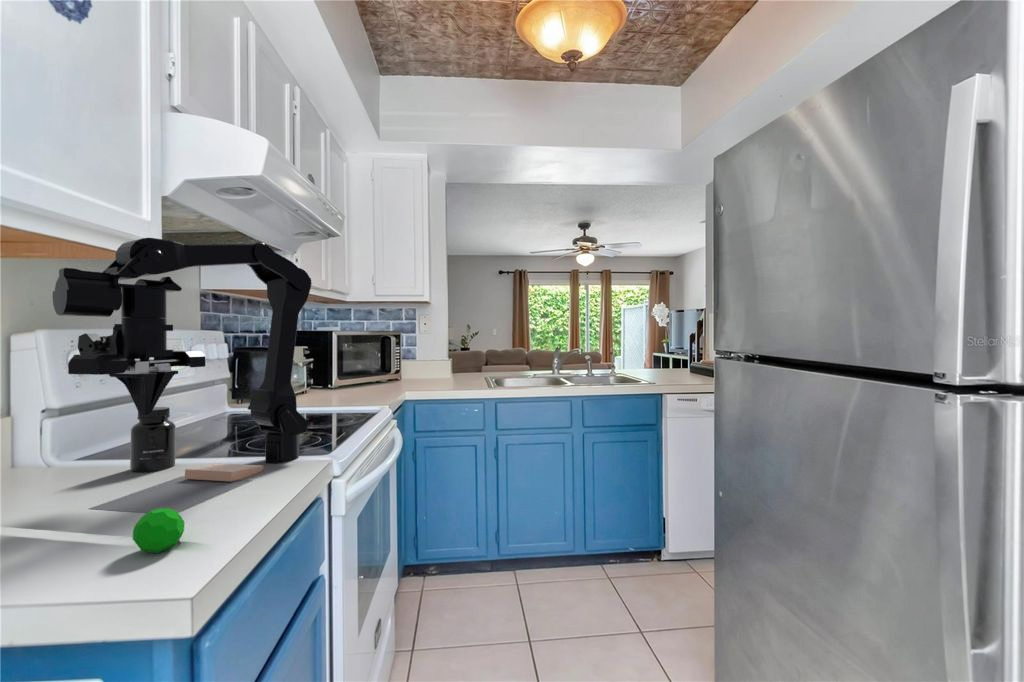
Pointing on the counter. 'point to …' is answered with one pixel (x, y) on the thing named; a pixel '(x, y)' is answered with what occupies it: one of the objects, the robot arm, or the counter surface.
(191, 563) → the counter surface
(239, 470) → the tile
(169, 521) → the polyhedron
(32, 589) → the counter surface
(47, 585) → the counter surface
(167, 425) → the supplement bottle
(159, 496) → the mat
